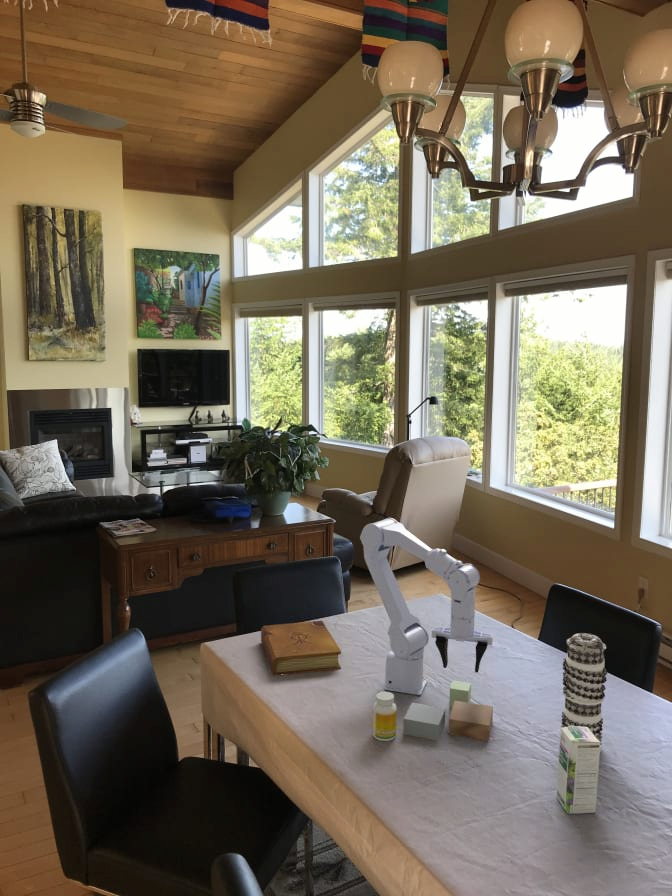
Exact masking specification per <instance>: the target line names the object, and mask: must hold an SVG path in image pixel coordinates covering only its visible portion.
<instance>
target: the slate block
mask: <svg viewBox="0 0 672 896" xmlns="http://www.w3.org/2000/svg"><path fill="white" fill-rule="evenodd" d="M446 711H447V710H446V708H445V707H439V706H433V705H428V704H423V703H417V702H411V704H410V705H409V707H408V709H407V712H406V714H405V715H404V717H403V728H402V729H403V733H402V734H403V735H407V736H411V737H417V738H422V739H426V740H432V741H440V738H441V735H442V732H443V730H444V728H445V725H446Z"/></svg>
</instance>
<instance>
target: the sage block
mask: <svg viewBox="0 0 672 896" xmlns="http://www.w3.org/2000/svg"><path fill="white" fill-rule="evenodd" d="M471 692H472V683H471V682H467V681H462V680H461V681H460V680H454V679H453V680H452V681H451V684H450V688H449V701H448V702H449V703H448V707H449V708H451V709H452V707H453V704H454V701H461V702H467V703H471V697H472V695H471Z"/></svg>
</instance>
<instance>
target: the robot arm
mask: <svg viewBox="0 0 672 896" xmlns="http://www.w3.org/2000/svg"><path fill="white" fill-rule="evenodd" d="M359 539H360V541H361V544H362V546H363V558H364V561H365V564H366V565H367V568H368V570H369V573H370V575H371V578H372V580H373V582H374V585H375V588H376V590H377V591H378V594H379V597H380V599H381V600H380V601H381V602H382V604H383V607H384V608H385V611H386V614H387V616H388V619H389V621H390V624H389V626H388V630H387V635H388V636H389V646H390V650H389V651H388V652H387V655H386V660H385V686H384V690H386V691H391V692H398V693H404V694H408V695H416V696H421V695H422V693H423V691H424V689H425V686H426V685H427V680H426V679H424V652H425V647H426V646H427V645H428V644H429V640H430V635H429V633H428V630H427V629H426V628H425V626H423V625H422V623H421V622H420V619H419V618H418V617H417V616H416V615H413V614H411V612H410V610H409V607H408V604H407V602H406V599H405V598H404V596H403V592H402V591H401V588H400V586H399V583H398V581H397V578H396V577H395V573H394V572H393V570H392V567H391V565H390V563H389V560H388V555H389V552H390V550H391V548H392V547H395V546H396V547H397V546H398V547H401V548H402V549H403V550H405V551H408V552H409V553H411V554H413V555H415V556H416V557H417V558H420V559H421V560H423V561H424V564H425V568H427V569H428V571H430V572H432V573H434V574H435V575H436V576H438V577H439V578H441V579H442V580H444V581H445V582H446V584H447V587H448V588H449V589H450V622H449V623H450V625H449V627H432V628H431V638H433V639H435V641H434V643H435V646H436V648H437V650H438V652H439V655H440V657H441V660H442V667H443V668H444V669H447V666H448V664H449V663H448V661H449V660H448V659H449V657H448V656H449V655H448V646H449V640H455V641H456V642H462V643H463V642H470V643H476V645H475V663H474V664H475V665H474V672H475V673H479V670H480V664H481V661H482V658H483V657H484V655H485V653H486V651H487V649H488V646H493V641H494V635H493V634H490V633H485V632H481V631H477V630H475V617H476V611H475V610H476V586H477V585H478V584H479V582H480V580H481V576H480V575H481V574H480V572H479V570H478V568H476V567H475V566H474V565H473V564H472V563H463V561H462V560H458V559H456V558H454V557H452V556H451V555H450V554H448V553H447V550H446V549H444V548H442V549H441V548H438V547H437V548H434V549H433V548H431V547H430V546H428V545H427V544H426V543H425V542H423V541H422V540H420V539H419V538H418V537H417V536H416V535H414V534H412V533H411V532H410V531H408V530H407V529H406V528H405V526H404V524H403V523H401V522H398V520H397V519H395V518H393V517H387V518H384V519H383V520H379V521H376V522H373V523H368V524H366V525H365V526H364V527H363V529H362V530H361V533H360V536H359Z"/></svg>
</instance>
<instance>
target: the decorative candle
mask: <svg viewBox="0 0 672 896" xmlns="http://www.w3.org/2000/svg"><path fill="white" fill-rule="evenodd" d="M566 644H567V653H566V657H565V658H562V659H563V662H562V670H563V672H562V675H563V676H562V677H563V678H562V685H563V688H562V690H563V691H562V693H563V696H564V704H563V711H562V712H561V727H560V729H561V728H562V727H570V726H581V727H588V728H589V729H590V730H591V731H592V733H593V734H594V735H595V736H596V738H597V739H598V740H599V741H600V753H601V751H602V747H601V746H602V744H603V743H602V739H603V736H602V735H603V733H602V731H603V723H604V718H603V717H602V713H603V711H602V703H603V702H604V701H605V700H604V699H605V697H606V695H605V692H604V691H605V690H606V686H605V683H606V682H607V681H608V679H607V677H606V676H607V675H608V671H607V669H606V668H605V660H606V659H605V650H606V649H607V645H606V644H605V643H604V642H603V641H602V639H601V638H600V637H599V636H597V635H596V634H595V635H594V634H592V633H585V632H579V633H575V634H573V635H572V636H571V637H569V638H567V639H566Z"/></svg>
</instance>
